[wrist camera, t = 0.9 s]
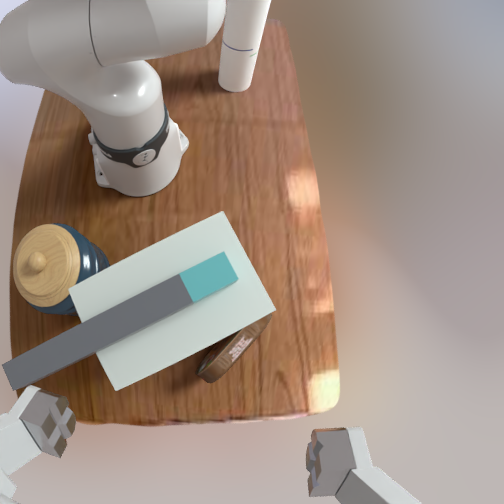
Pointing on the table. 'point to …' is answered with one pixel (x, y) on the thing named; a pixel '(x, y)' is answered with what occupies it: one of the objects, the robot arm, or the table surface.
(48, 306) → the canister
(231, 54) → the cylindrical container
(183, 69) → the table surface
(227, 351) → the tin
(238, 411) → the table surface
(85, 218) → the table surface
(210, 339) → the pedestal
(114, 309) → the teal-tipped grey bar
